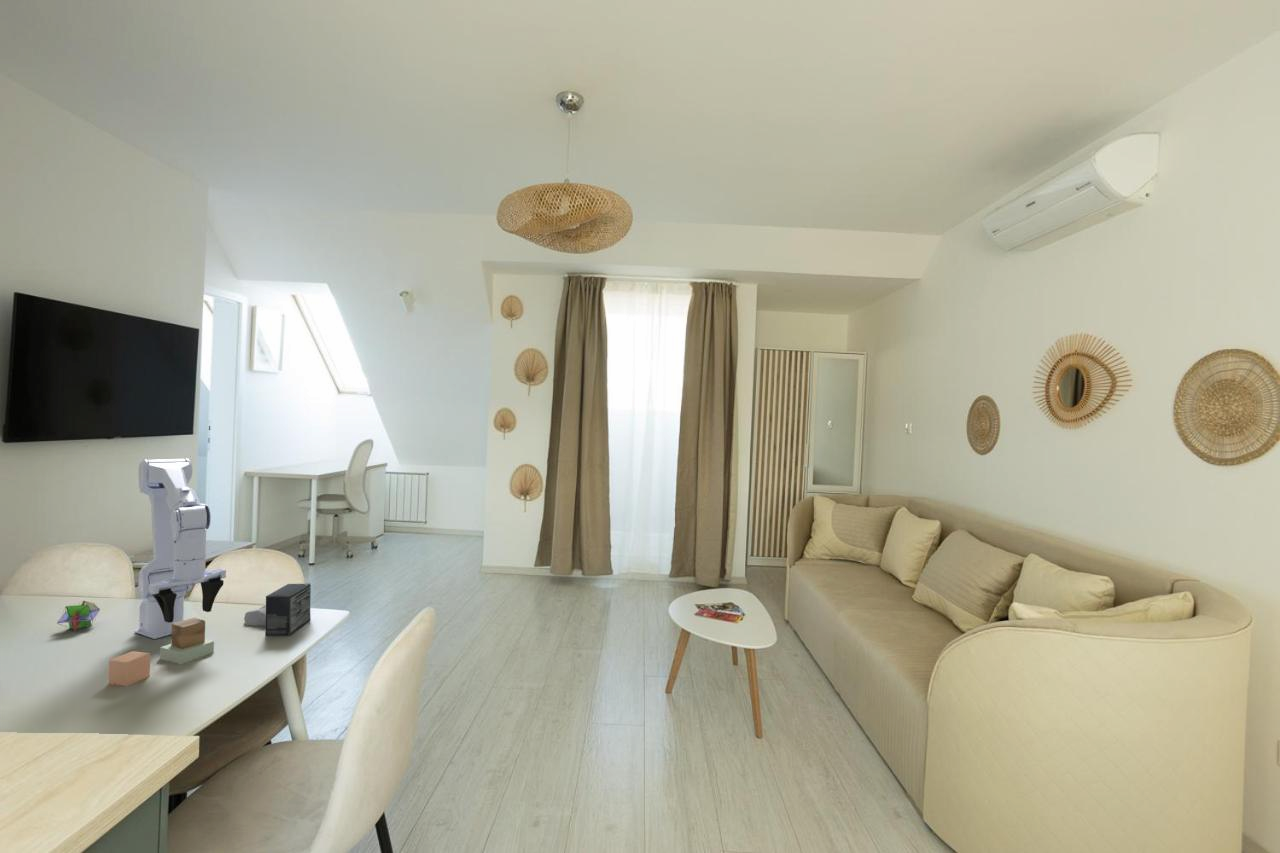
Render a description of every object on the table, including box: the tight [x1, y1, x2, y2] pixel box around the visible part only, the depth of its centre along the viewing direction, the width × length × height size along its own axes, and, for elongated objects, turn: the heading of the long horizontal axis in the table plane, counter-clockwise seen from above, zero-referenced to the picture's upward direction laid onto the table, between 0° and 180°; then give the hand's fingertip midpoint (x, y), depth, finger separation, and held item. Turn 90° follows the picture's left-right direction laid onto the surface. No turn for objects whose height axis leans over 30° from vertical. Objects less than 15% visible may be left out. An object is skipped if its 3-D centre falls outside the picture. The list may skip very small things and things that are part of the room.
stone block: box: [243, 604, 266, 627], centre depth 152 cm, size 12×5×10 cm
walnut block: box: [170, 617, 206, 649], centre depth 128 cm, size 4×4×5 cm
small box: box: [264, 583, 312, 637], centre depth 145 cm, size 11×6×10 cm, turn 5°
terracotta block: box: [108, 650, 151, 687], centre depth 115 cm, size 4×4×5 cm
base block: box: [159, 638, 215, 665], centre depth 127 cm, size 7×7×3 cm
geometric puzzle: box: [56, 600, 101, 633], centre depth 140 cm, size 7×7×8 cm
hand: (188, 616), depth 127 cm, fingers open, 7 cm apart
